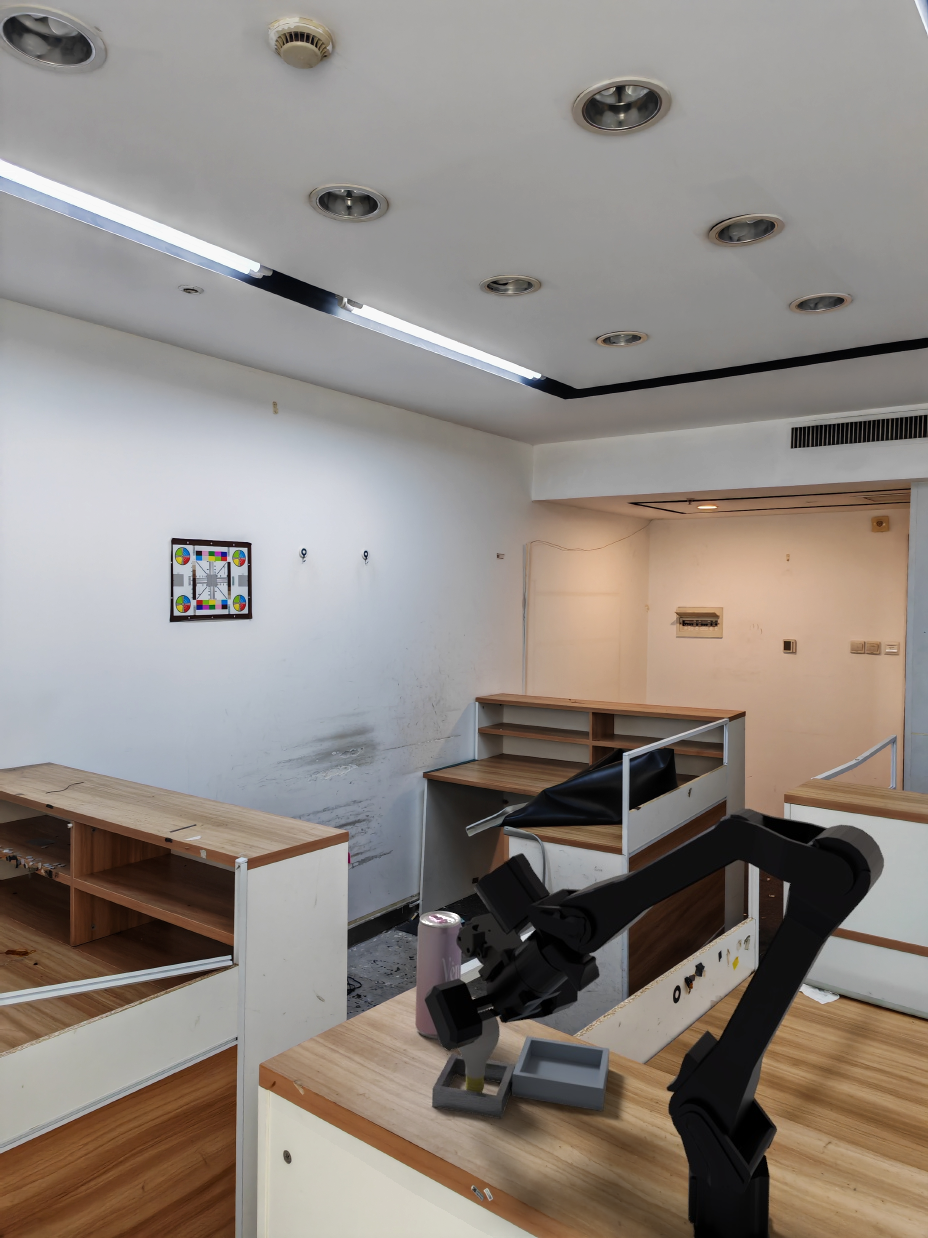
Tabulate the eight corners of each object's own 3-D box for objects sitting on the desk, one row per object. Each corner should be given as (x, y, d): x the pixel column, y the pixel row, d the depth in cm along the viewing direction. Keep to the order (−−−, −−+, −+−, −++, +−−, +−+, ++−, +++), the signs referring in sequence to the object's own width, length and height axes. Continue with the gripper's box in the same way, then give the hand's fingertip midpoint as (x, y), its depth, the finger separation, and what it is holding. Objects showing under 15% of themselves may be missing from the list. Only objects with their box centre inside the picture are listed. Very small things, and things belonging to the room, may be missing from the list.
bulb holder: (514, 1081, 98) (515, 1064, 98) (501, 1119, 90) (501, 1100, 90) (450, 1070, 100) (451, 1054, 100) (432, 1106, 92) (432, 1089, 92)
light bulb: (493, 1110, 92) (496, 1020, 92) (446, 1103, 93) (449, 1015, 93) (501, 1084, 97) (503, 999, 97) (456, 1078, 98) (458, 994, 98)
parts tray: (608, 1069, 101) (609, 1048, 101) (602, 1111, 92) (602, 1089, 92) (526, 1056, 104) (526, 1036, 104) (512, 1096, 95) (512, 1074, 95)
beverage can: (441, 1015, 114) (443, 907, 115) (468, 1031, 110) (471, 920, 110) (406, 1027, 111) (409, 916, 111) (433, 1045, 106) (436, 929, 106)
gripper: (563, 885, 98) (501, 947, 106) (437, 914, 86) (379, 981, 95) (611, 974, 91) (541, 1033, 100) (481, 1018, 80) (415, 1080, 88)
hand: (470, 1029), depth 96 cm, fingers open, 9 cm apart
